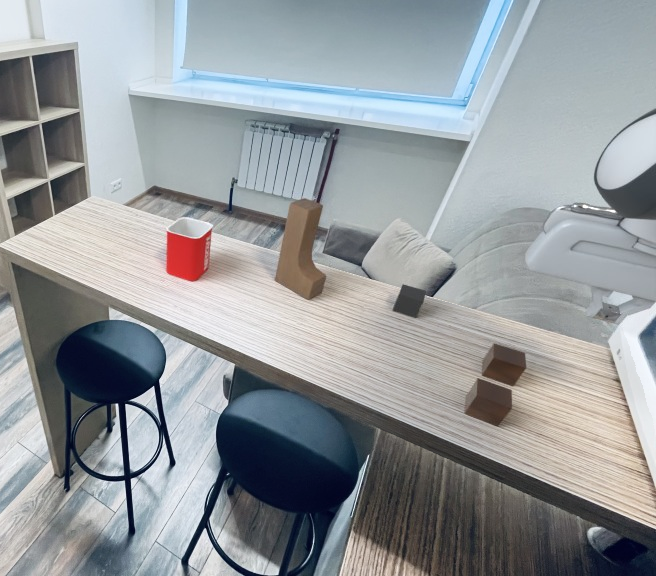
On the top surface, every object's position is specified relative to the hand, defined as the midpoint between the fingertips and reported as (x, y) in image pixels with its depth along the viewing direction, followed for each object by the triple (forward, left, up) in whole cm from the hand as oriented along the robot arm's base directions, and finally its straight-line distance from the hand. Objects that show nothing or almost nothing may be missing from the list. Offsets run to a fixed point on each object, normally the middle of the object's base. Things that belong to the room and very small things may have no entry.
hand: (601, 318), depth 52 cm
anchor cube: (+23, 0, -16) cm, 28 cm away
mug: (+53, +31, -16) cm, 64 cm away
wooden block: (+37, +14, -16) cm, 43 cm away
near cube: (+1, +10, -16) cm, 18 cm away
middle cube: (+6, 0, -16) cm, 17 cm away
